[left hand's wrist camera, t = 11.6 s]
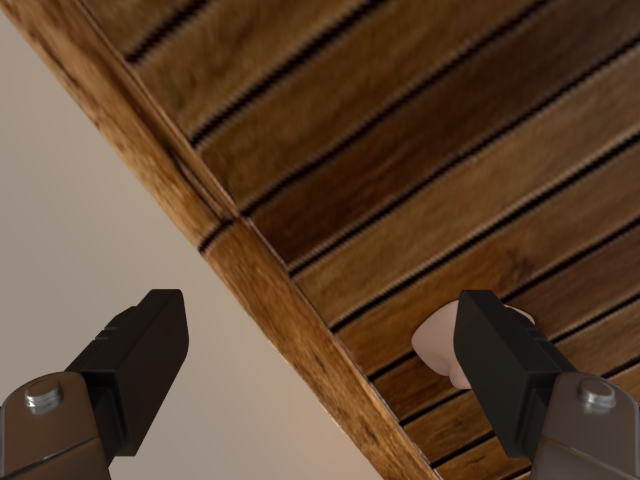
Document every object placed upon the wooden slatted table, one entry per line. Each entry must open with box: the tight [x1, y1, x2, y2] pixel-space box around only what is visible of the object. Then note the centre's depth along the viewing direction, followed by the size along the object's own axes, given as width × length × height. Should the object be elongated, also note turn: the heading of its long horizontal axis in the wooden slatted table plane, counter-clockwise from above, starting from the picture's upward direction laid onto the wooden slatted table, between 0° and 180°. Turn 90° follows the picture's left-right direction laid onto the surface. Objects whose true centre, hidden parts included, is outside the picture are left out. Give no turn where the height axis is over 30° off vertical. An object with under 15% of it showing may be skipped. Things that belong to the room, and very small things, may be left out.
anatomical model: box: [412, 300, 535, 389], centre depth 43 cm, size 13×4×12 cm
